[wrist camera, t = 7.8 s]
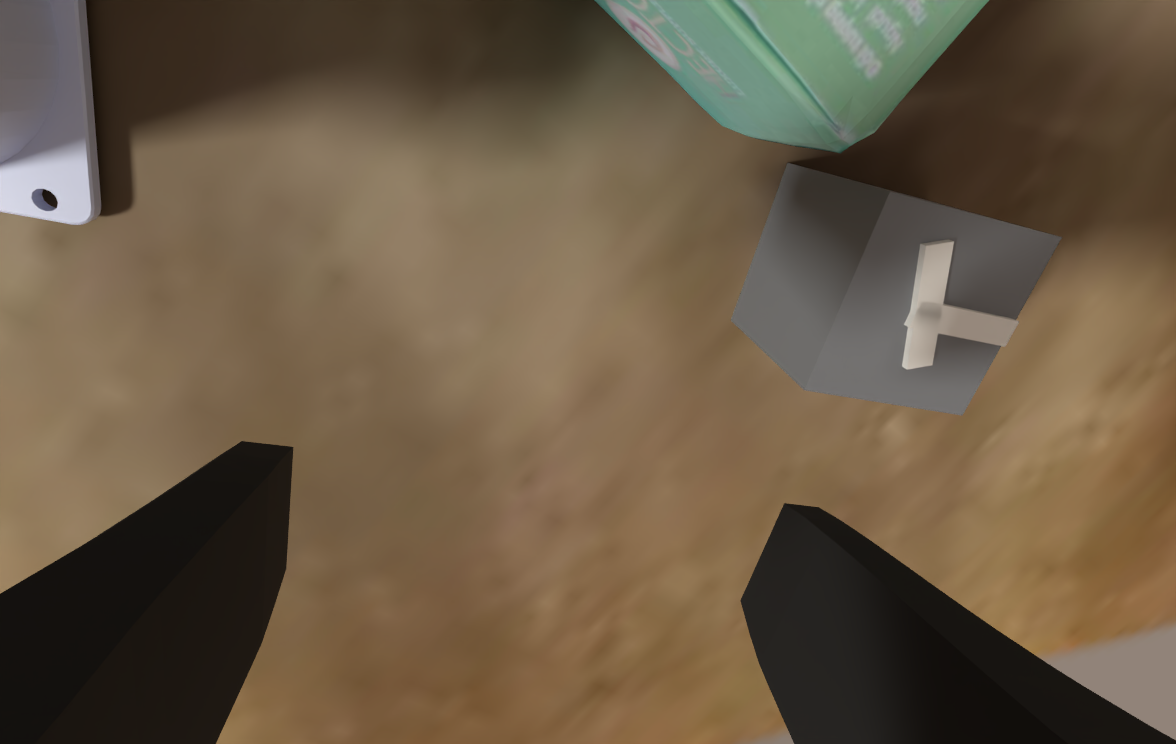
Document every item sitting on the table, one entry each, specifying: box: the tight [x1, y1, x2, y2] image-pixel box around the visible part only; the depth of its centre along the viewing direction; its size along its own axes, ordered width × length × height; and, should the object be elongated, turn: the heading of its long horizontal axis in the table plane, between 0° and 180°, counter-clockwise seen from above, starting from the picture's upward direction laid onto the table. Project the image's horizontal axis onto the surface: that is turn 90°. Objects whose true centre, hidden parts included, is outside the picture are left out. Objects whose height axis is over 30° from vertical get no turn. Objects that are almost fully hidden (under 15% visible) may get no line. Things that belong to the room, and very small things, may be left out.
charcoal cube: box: [731, 163, 1062, 415], centre depth 17 cm, size 5×5×5 cm
